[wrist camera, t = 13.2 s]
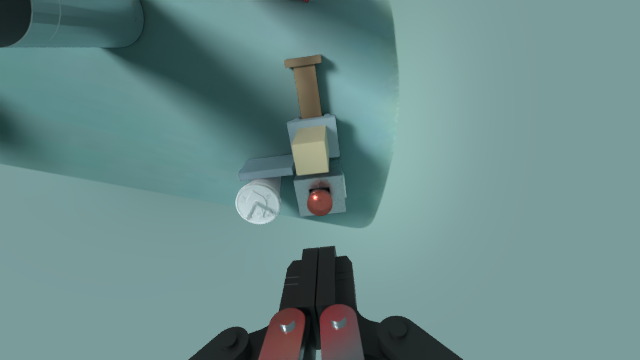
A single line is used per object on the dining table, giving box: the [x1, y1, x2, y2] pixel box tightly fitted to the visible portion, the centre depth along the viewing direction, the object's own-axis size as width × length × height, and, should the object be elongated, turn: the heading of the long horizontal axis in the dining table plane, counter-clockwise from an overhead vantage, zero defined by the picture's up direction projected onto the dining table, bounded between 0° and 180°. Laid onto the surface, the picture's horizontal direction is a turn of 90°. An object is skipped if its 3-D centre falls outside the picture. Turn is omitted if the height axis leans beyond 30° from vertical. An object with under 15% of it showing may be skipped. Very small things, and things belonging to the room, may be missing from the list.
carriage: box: [238, 113, 340, 181], centre depth 43 cm, size 15×7×11 cm, turn 98°
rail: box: [284, 55, 322, 119], centre depth 45 cm, size 5×16×2 cm, turn 8°
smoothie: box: [236, 176, 281, 224], centre depth 45 cm, size 6×6×14 cm
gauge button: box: [307, 187, 333, 216], centre depth 45 cm, size 4×4×7 cm
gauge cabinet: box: [294, 159, 347, 217], centre depth 47 cm, size 7×6×7 cm
